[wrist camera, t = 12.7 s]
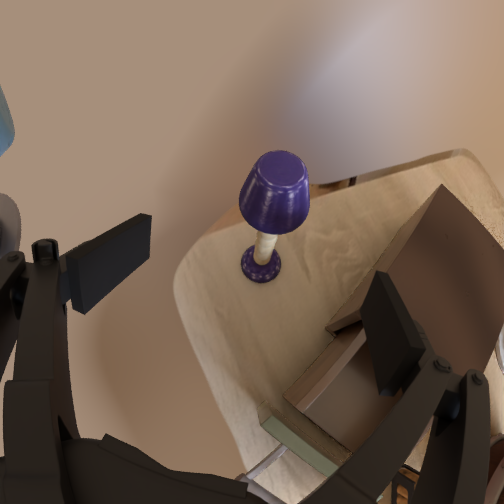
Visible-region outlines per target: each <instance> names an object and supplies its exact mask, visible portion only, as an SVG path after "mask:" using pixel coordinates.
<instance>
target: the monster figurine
mask: <svg viewBox="0 0 504 504" xmlns="http://www.w3.org/2000/svg"><path fill="white" fill-rule="evenodd" d="M496 354H497V359H498V363H499V366H500V369H501V370H502V372H503V374H504V324H503V327H502V330H501V333H500V335H499V338H498V340H497V343H496Z"/></svg>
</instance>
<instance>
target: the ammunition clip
mask: <svg viewBox="0 0 504 504" xmlns="http://www.w3.org/2000/svg"><path fill="white" fill-rule="evenodd" d="M419 475H420V472H418V471H417V470H415V469H413V468H411V467H410V466H408V465H406V464H404V465H402V466H401V468H400V469H399V471H398V472H397V474H396V475H395V476H394V478H393V479H392V500H391V504H410V501H411V498H412V496H413V493H414V490H415V487H416V484H417V481H418V478H419Z"/></svg>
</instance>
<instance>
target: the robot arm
mask: <svg viewBox="0 0 504 504" xmlns="http://www.w3.org/2000/svg"><path fill="white" fill-rule="evenodd" d="M14 135H15V132H14V125H13V120H12V117H11V114H10V110H9V108H8V105H7V102H6V99H5V96H4V94H3V91H2V89H1V86H0V156H1V155H2V154H3V153H4V152H5V151H6V150H7V149H8V148H9V147H10V146H11V144H12V142H13V140H14ZM151 219H152V216H151V215H147V214H142V213H140V214H138V215H136V216H134V217H133V218H131V219H129V220H127V221H125V222H123V223H121V224H119V225H117V226H116V227H114V228H112V229H110V230H109V231H106V232H105V233H103V234H101V235H99V236H97V237H96V238H94V239H92V240H90V241H86V242H84V243H82V244H80V245H78V247H75V248H73V250H70V251H68V252H66V253H65V254H63V255H61V256H60V257H59V250H58V243H57V241H56V240H54V239H41V240H38V241H36V242H34V243H33V244H32V254H33V260H34V263H29V262H26V261H25V256H24V253H23V252H20V251H10V252H9V253H7V254H5V255H4V256H3V257H2V258H1V259H0V382H1V379H2V376H3V373H4V370H5V367H6V365H7V362H8V360H9V357H10V355H11V352H12V350H13V347H14V345H15V343H16V340H17V344H16V352H15V362H14V373H13V380H8V381H7V382H5V386H4V398H3V441H4V456H3V457H0V504H269V503H268V502H266V501H265V500H263V499H262V498H261V497H259V496H257V495H255V494H253V493H251V492H249V491H247V489H248V484H249V483H247V482H242V481H237V480H233V479H229V478H224V477H220V476H217V475H213V474H203V473H190V472H181V471H173V470H170V469H167V468H166V467H164V466H163V465H161V464H160V463H158V462H156V461H155V460H154V459H152V458H151V457H149V456H148V455H146V454H145V453H143V452H142V451H141V450H139V449H138V448H136V447H134V446H131V445H129V444H127V443H125V442H122V441H120V440H118V439H116V438H114V437H112V436H110V435H108V434H105V435H104V437H103V439H102V440H97V439H89V438H88V439H87V438H81V437H80V435H79V432H78V428H77V424H76V418H75V412H74V405H73V398H72V391H71V382H70V371H69V359H68V341H67V306H66V302H67V301H68V300H70V299H71V302H72V308H73V310H76V311H78V312H80V313H82V314H84V315H85V314H86V313H87V312H88V311H89V310H90V309H92V308H93V307H94V306H95V305H96V304H97V303H98V302H99V301H100V300H101V299H103V298H104V297H105V296H106V295H107V294H108V293H109V292H110V291H111V290H113V289H114V288H115V287H116V286H117V285H118V284H120V283H121V282H122V281H123V280H124V279H125V278H126V277H127V276H129V275H130V274H131V273H132V272H133V271H135V270H136V269H137V268H138V267H139V266H140V265H142V264H143V263H144V262H145V261H146V260H148V259H149V256H150V235H151ZM1 240H2V227H1V222H0V247H1ZM360 315H361V319H362V323H363V326H364V330H365V334H366V338H367V343H368V347H369V351H370V355H371V360H372V364H373V369H374V373H375V378H376V383H377V388H378V393H379V395H381V396H392V397H394V396H395V395H396V393H397V392H398V391H399V389H400V388H401V389H402V393H403V395H402V396H401V397H400V399H399V400H398V401H397V402H396V404H395V405H394V406H393V407H392V409H391V410H390V412H389V413H388V414H387V415H386V417H385V418H384V419H383V420H382V421H381V423H380V424H379V425H378V426H377V427H376V429H375V430H374V431H373V432H372V433H371V434H370V435H369V437H368V438H367V439H366V440H365V441H364V442H363V443H362V444H361V445H360V446H359V448H358V449H357V450H356V451H355V452H354V453H353V454H352V455H351V456H350V457H349V458H348V459H347V460H346V461H345V462H344V463H343V464H342V465H341V466H340V467H339V468H338V469H337V470H336V471H335V472H334V473H333V474H331V475H330V476H329V477H328V478H327V479H326V480H325V481H324V482H323V483H322V484H320V485H319V486H318V487H317V488H316V489H315V490H314V491H312V492H311V493H310V494H309V495H308V496H306V497H305V498H304V499H303V500H301V501H300V502H299V503H298V504H378V503H377V502H376V500H377V499H378V497H379V496H380V495H381V493H382V492H383V491H384V490H385V488H386V487H387V486H388V484H389V483H390V482H391V480H392V479H393V478H394V476H395V475H396V474H397V472H398V471H399V469H400V468H401V466H402V465H403V464H404V462H405V461H406V459H407V458H408V456H409V455H410V453H411V451H412V450H413V448H414V447H415V445H416V443H417V442H418V440H419V439H420V437H421V435H422V433H423V432H424V430H425V428H426V426H427V425H428V423H429V421H430V419H431V417H432V415H433V416H434V417H433V423H432V428H431V432H430V437H429V441H428V445H427V449H426V453H425V457H424V461H423V464H422V468H421V471H420V475H419V478H418V481H417V484H416V487H415V490H414V493H413V496H412V498H411V501H410V504H484V501H485V495H486V488H487V480H488V471H489V458H490V398H489V385H488V381H487V379H486V377H485V375H484V374H482V372H481V371H478V370H476V369H469V370H468V371H467V372H466V374H465V375H464V376H461V375H458V374H456V373H453V368H452V365H451V364H450V363H449V361H447V360H446V359H445V358H443V357H441V356H438V355H436V354H435V351H434V349H433V347H432V345H431V343H430V341H429V340H428V337H427V335H426V333H425V331H424V329H423V327H422V326H421V325H420V324H419V323H418V322H417V321H416V320H413V319H412V318H411V316H410V314H409V312H408V310H407V308H406V306H405V304H404V302H403V300H402V298H401V296H400V294H399V293H398V291H397V289H396V287H395V285H394V283H393V281H392V280H391V278H390V276H389V274H388V273H385V272H381V271H377V270H376V272H375V275H374V277H373V280H372V282H371V285H370V287H369V290H368V292H367V294H366V297H365V299H364V302H363V304H362V306H361V308H360Z"/></svg>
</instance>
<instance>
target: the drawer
mask: <svg viewBox="0 0 504 504" xmlns="http://www.w3.org/2000/svg"><path fill="white" fill-rule="evenodd" d="M402 395H403V393H402V389H401V388H400V389H399V391H398V392H397V393H396V395H395V396H394V397H392V396H381V395H379V393H378V388H377V383H376V378H375V373H374V369H373V364H372V360H371V355H370V351H369V347H368V343H367V338H366V334H365V330H364V326H363V323H362V320H359V321H357V322H355V323H353V324H350V325H348V326H346V327H344V328H343V329H342V330H341V332H340V333H339V334H338V335H337V336H336V338H335V339H334V340H333V341H332V342H331V343H330V345H329V346H328V347H327V348H326V349H325V350H324V352H323V353H322V354H321V355H320V356H319V357H318V358H317V359H316V361H315V362H314V363H313V364H312V365H311V366H310V367H309V368H308V369H307V370H306V372H305V373H304V374H303V375H302V376H301V377H300V378H299V379H298V380H297V381H296V382H295V383H294V384H293V385H292V386H291V387H290V388H289V389H288V390H287V391H286V392H285V393H284V394H283V397H284V398H285V399H286V400H287V401H288V402H290V403H291V404H292V405H293V406H294V407H295V408H296V409H298V410H299V411H300V412H301V413H303V414H304V415H305V416H306V417H308V418H309V419H310V420H311V421H312V422H314V423H315V424H316V425H317V426H318V427H320V428H321V429H322V430H323V431H325V432H326V433H327V434H328V435H330V436H331V437H332V438H334V439H335V440H336V441H337V442H339V443H340V444H341V445H343V446H344V447H345V448H347V449H348V450H349V451H351V452H352V453H354V452H355V451H356V450H357V449H358V448H359V446H360V445H361V444H362V443H363V442H364V441H365V440H366V439H367V438H368V437H369V435H370V434H371V433H372V432H373V431H374V430H375V429H376V427H377V426H378V425H379V424H380V423H381V421H382V420H383V419H384V418H385V417H386V415H387V414H388V413H389V412H390V410H391V409H392V407H393V406H394V405H395V404H396V402H397V401H398V400H399V399H400V397H401V396H402ZM257 412H258V416H259V421H260V425H261V427H262V428H264V429H265V430H266V431H267V432H268V433H269V434H271V435H272V436H273V437H274V438H276V439H277V440H278V441H279V442H281V444H280V445H279V446H278V447H277V448H276V449H275V450H274V451H272V452H271V453H270V454H269V455H268V456H267V457H266V458H264V459H263V460H262V461H261V462H260V463H259V464H257V465H256V466H255V467H254V468H253V469H251V470H250V471H249V472H248V473H246V475H245V474H244V473H242V474H240V475H239V476H237V477H236V478H235V480H237V481H242V482H247V483H249V484H248V489H247V491H249V492H251V493H253V494H255V495H257V496H259V497H261V498H262V499H263V500H265V501H266V502H268V503H269V504H287V503H285V502H284V501H282V500H281V499H279V498H278V497H276V496H275V495H273V494H272V493H270V492H269V491H267V490H266V489H264V488H263V487H262V486H260V485H259V484H258V483H256V482H255V481H253V480H252V479H253V478H255V477H256V476H257V475H258V474H259V473H261V472H262V471H263V470H264V469H266V468H267V467H268V466H269V465H270V464H271V463H273V462H274V461H275V460H276V459H277V458H278V457H279V456H280V455H282V454H283V453H284V452H285V451H286V450H287V449H289V450H291V451H292V452H293V453H295V454H296V455H297V456H298V457H300V458H301V459H302V460H304V461H305V462H306V463H308V464H309V465H311V466H312V467H313V468H315V469H316V470H318V471H319V472H320V473H322V474H323V475H325V476H326V477H329V476H330V475H331V474H333V473H334V472H335V471H336V470H337V469H338V468H339V467H340V466H341V465H342V464H343V462H341V461H340V460H339V459H337V458H336V457H335V456H333V455H332V454H331V453H329V452H328V451H327V450H325V449H324V448H323V447H321V446H320V445H319V444H317V443H316V442H315V441H314V440H312V439H311V438H310V437H308V436H307V435H306V434H305V433H303V432H302V431H301V430H300V429H299V428H297V427H296V426H295V425H294V424H292V423H291V422H290V421H289V420H288V419H286V418H285V417H284V416H283V415H282V414H281V413H279V412H278V411H277V410H276V409H275V408H274V407H272V406H271V405H270V404H269V403H268V402H267V401H264V402H263V403H262V404H261V405H260V406H259V407H258V408H257ZM433 417H434V416H433V415H432V417H431V419H430V421H429V423H428V425H427V426H426V428H425V430H424V432H423V433H422V435H421V437H420V439H419V440H418V442H417V443H416V445H415V447H414V448H413V450H414V449H415V448H416V446H417V445H418V444H419V442H420V441H421V440H422V438H423V437H424V436H425V434H426V433H427V432H428V430H429V429H430V427H431V426H432V423H433ZM413 450H412V451H413ZM412 451H411V453H412ZM411 453H410V454H411ZM382 497H383V495H382V494H381V495H380V496H379V497H378V499H377V500H376V502H378V501H379V500H380V499H381V498H382Z"/></svg>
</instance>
